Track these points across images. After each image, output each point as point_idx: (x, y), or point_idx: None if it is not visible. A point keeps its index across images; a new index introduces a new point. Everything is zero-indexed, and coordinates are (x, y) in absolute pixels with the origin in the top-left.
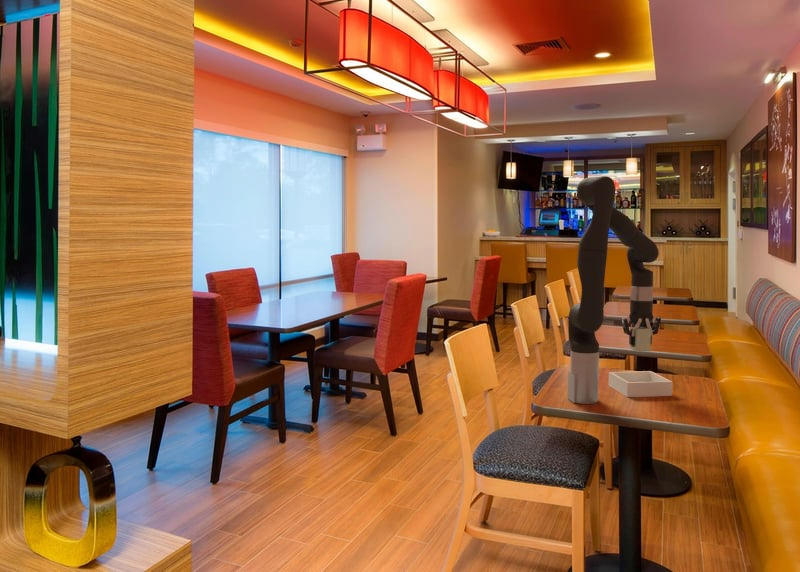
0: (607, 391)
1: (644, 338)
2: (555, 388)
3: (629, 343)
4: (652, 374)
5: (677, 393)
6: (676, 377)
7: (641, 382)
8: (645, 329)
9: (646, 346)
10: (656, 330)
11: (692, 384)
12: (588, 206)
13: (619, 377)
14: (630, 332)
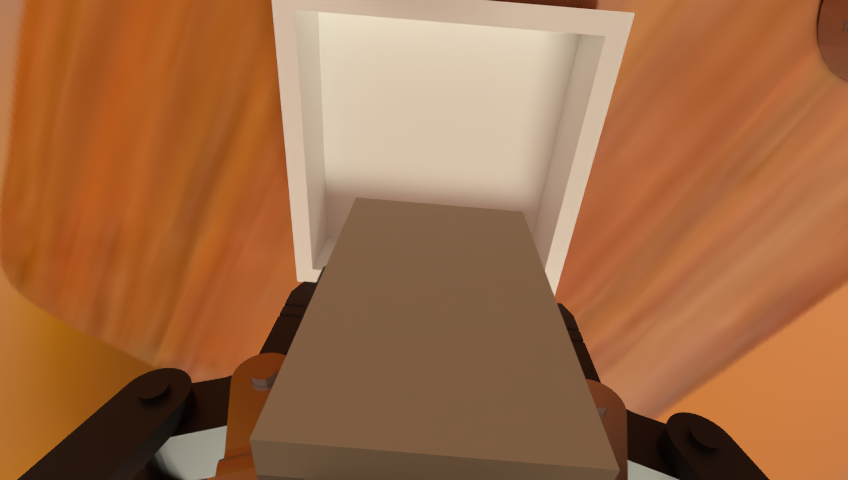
0: (611, 167)
1: (424, 298)
2: (824, 267)
3: None
4: (312, 230)
5: (242, 51)
6: (145, 324)
7: (518, 7)
8: (395, 437)
9: (398, 228)
10: (121, 426)
11: (101, 208)
12: None
13: (576, 179)
14: (644, 457)
